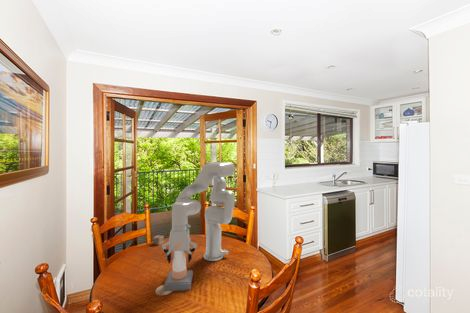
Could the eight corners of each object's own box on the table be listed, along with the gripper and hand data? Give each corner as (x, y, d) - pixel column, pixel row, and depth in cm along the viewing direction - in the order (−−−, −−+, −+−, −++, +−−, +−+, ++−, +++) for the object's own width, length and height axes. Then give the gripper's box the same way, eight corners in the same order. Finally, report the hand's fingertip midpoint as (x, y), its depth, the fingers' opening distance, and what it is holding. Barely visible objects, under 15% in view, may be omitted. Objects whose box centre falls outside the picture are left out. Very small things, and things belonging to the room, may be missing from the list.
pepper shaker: (180, 269, 114) (180, 233, 114) (189, 274, 110) (189, 237, 109) (168, 276, 108) (168, 238, 108) (178, 281, 104) (177, 242, 103)
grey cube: (153, 244, 155) (153, 237, 155) (158, 241, 159) (158, 235, 159) (159, 245, 153) (159, 238, 153) (163, 242, 158) (163, 235, 158)
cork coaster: (174, 286, 107) (174, 284, 107) (171, 296, 99) (171, 294, 99) (158, 286, 106) (158, 284, 106) (153, 297, 98) (153, 295, 98)
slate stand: (192, 275, 115) (192, 269, 115) (190, 289, 103) (190, 283, 103) (169, 276, 114) (169, 270, 114) (164, 291, 102) (164, 284, 102)
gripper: (197, 224, 113) (197, 257, 113) (163, 225, 111) (163, 258, 111) (196, 229, 105) (196, 264, 105) (160, 230, 103) (159, 266, 103)
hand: (179, 261), depth 108 cm, fingers open, 9 cm apart
